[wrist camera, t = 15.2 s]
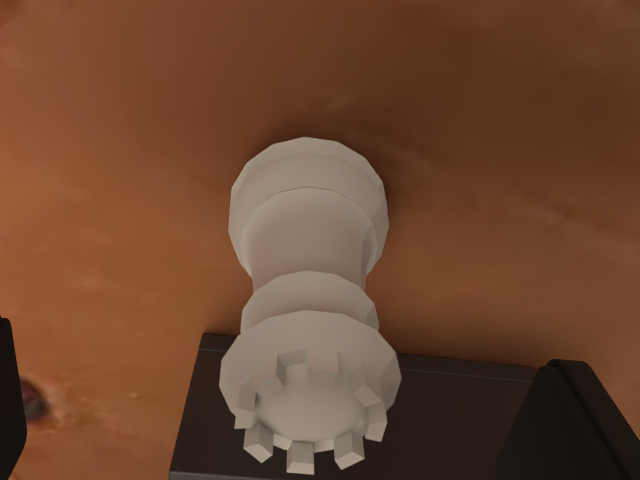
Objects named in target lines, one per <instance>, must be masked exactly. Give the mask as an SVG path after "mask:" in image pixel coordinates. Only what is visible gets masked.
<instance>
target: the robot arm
mask: <svg viewBox="0 0 640 480" xmlns="http://www.w3.org/2000/svg"><path fill="white" fill-rule="evenodd" d="M26 437H27V426H26V419H25V413H24V406H23V400H22V393H21V387H20V380H19V374H18V367H17V361H16V354H15V348H14V341H13V335H12V328H11V324H10V321H9V319H7V318H1V316H0V480H8V479H9V477H10V475H11V473H12V471H13V469H14V467H15V465H16V463H17V461H18V459H19V457H20V455H21V453H22V451H23V448H24V445H25V442H26ZM495 478H496V480H640V441H639V439H638V438H637V436H636V435H635V433H634V432H633V430H632V429H631V427H630V426H629V424H628V423H627V421H626V420H625V418H624V417H623V415H622V414H621V412H620V411H619V409H618V408H617V406H616V405H615V403H614V402H613V400H612V399H611V397H610V396H609V394H608V393H607V391H606V390H605V388H604V387H603V385H602V384H601V382H600V381H599V379H598V378H597V376H596V375H595V373H594V372H593V370H592V369H591V367H590V366H589V365H588V364H587V363H585V362H583V361H573V360H562V359H552V360H550V361H549V362H548V363H547V365H546V366H542V367H540V368H539V370H538V371H537V373H536V375H535V377H534V380H533V382H532V384H531V386H530V388H529V390H528V392H527V395H526V397H525V399H524V401H523V403H522V405H521V407H520V410H519V412H518V414H517V416H516V418H515V420H514V423H513V425H512V427H511V429H510V431H509V433H508V435H507V438H506V440H505V442H504V444H503V446H502V448H501V450H500V453H499V455H498V457H497V459H496V462H495Z"/></svg>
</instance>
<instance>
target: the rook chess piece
mask: <svg viewBox="0 0 640 480" xmlns="http://www.w3.org/2000/svg"><path fill="white" fill-rule="evenodd" d="M387 211H388V207H387V202H386V197H385V192H384V187H383V182H382V180H381V179H380V178H379V176H378V175H377V173H376V172H375V171H374V169H373V168H372V167H371V165H370V164H369V163H368V161H367V160H366V158H365V157H363V156H361V155H360V154H358V153H356V152H354V151H353V150H351V149H349V148H348V147H346V146H344V145H342V144H341V143H339V142H337V141H330V140H323V139H316V138H309V137H301V138H297V139H293V140H289V141H285V142H280V143H276V144H272V145H271V146H269V147H268V148H267V149H265V150H264V151H262V152H261V153H260V154H258V155H257V156H255V157H254V158H253V159H251V160H250V161H248V162H247V163H246V165H245V166H244V168H243V170H242V171H241V173H240V175H239V177H238V178H237V180H236V182H235V183H234V185H233V187H232V190H231V202H230V214H229V226H228V233H229V236H230V239H231V242H232V244H233V247H234V250H235V252H236V255H237V258H238V260H239V263H240V264H241V265H242V266H243V267H244V269H245V270H246V271H247V273H248V275H249V276H250V277H251V278H252V281H253V292H254V294H253V295H252V297H251V298H250V300H249V301H248V303H247V304H246V306H245V307H244V309H243V310H242V319H241V328H240V332H241V334H240V335H238V337H237V338H236V340H235V341H234V343H233V344H232V346H231V347H230V349H229V350H228V351H227V353H226V354H225V356H224V357H223V359H222V360H221V371H220V382H219V387H220V390H221V392H222V394H223V396H224V398H225V400H226V403H227V405H228V407H229V409H230V411H231V412H232V413H233V414H234V415H235V416H236V418H235V427H234V429H242V428H246V429H245V438H244V446H243V448H244V449H245V450H246V451H247V452H249V453H250V454H251V455H252V456H253V457H255V458H256V459H257V460H258V461H260V462H261V463H263V462H264V461H265V460H267V459H268V458H269V457H270V456H272V455H273V445H274V446H277V447H279V448H282V449H284V450H287V470H286V472H288V473H300V474H312V475H314V453H316V452H322V451H327V450H333V449H334V456H335V461H336V463H337V464H338V466H339V467H340V469H341V470H342V469H344V468H346V467H349V466H351V465H353V464H355V463H357V462H359V461H361V460H363V459H365V456H364V447H363V438H362V437H363V436H364V435H365V438H366V439H370V440H374V441H379V442H381V440H382V437H383V434H384V431H385V428H386V425H387V417H386V411H387V410H388V409H389V408H390V407H391V406H392V405H393V404H394V401H395V398H396V394H397V391H398V388H399V385H400V382H401V379H402V378H401V373H400V369H399V365H398V360H397V356H396V352H395V351H394V350H393V349H392V347H391V346H390V345H389V344H388V343H387V342H386V341H385V339H384V338H383V337H382V336H381V335H380V334H379V333H378V329H379V321H378V317H377V313H376V309H375V304H374V303H373V302H372V301H371V300H370V298H369V297H368V296H367V295H366V294H365V284H366V276H367V275H368V274H369V272H370V271H371V270H372V268H373V267H374V265H375V264H376V263H377V261H378V260H379V259H380V258H381V255H382V252H383V248H384V244H385V240H386V236H387V232H388V228H389V219H388V214H387Z"/></svg>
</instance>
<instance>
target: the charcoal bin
mask: <svg viewBox="0 0 640 480" xmlns="http://www.w3.org/2000/svg"><path fill="white" fill-rule="evenodd" d="M236 338H237V337H232V336H222V335H213V334H203V335H202V337H201V341H200V346H199V351H198V354H197V358H196V362H195V366H194V370H193V374H192V378H191V383H190V387H189V391H188V395H187V399H186V403H185V407H184V411H183V416H182V420H181V424H180V428H179V432H178V436H177V440H176V444H175V449H174V453H173V457H172V461H171V465H170V469H169V480H496V478H495V462H496V459H497V457H498V455H499V453H500V450H501V448H502V446H503V444H504V442H505V440H506V438H507V435H508V433H509V431H510V429H511V427H512V425H513V423H514V420H515V418H516V416H517V414H518V412H519V410H520V407H521V405H522V403H523V401H524V399H525V397H526V395H527V392H528V390H529V388H530V386H531V384H532V382H533V380H534V377H535V375H536V373H537V372H536V370H535V368H533V367H524V366H515V365H505V364H495V363H486V362H476V361H466V360H456V359H447V358H437V357H427V356H417V355H408V354H398V353H396V356H397V360H398V365H399V369H400V373H401V378H402V379H401V382H400V385H399V388H398V391H397V394H396V398H395V401H394V404H393V405H392V406H391V407H390V408H389V409H388V410H387V411H386V417H387V425H386V428H385V431H384V434H383V437H382V440H381V442H379V441H374V440H370V439H366V438H365V435H364V436H363V437H362V438H363V447H364V456H365V459H363V460H361V461H359V462H357V463H355V464H353V465H351V466H349V467H346V468H344V469H342V470H341V469H340V467H339V466H338V464H337V463H336V461H335V456H334V449H333V450H327V451H322V452H316V453H314V475H312V474H300V473H288V472H286V470H287V450H284V449H282V448H279V447H277V446H274V445H273V455H272V456H270V457H269V458H268V459H267V460H265V461H264V462H263V463H261V462H260V461H258V460H257V459H256V458H255V457H253V456H252V455H251V454H250V453H249V452H247V451H246V450H245V449H244V448H243V446H244V438H245V429H246V428H242V429H234V427H235V418H236V416H235V415H234V414H233V413H232V412H231V411H230V409H229V407H228V405H227V403H226V400H225V398H224V396H223V394H222V392H221V390H220V387H219V382H220V371H221V360H222V359H223V357H224V356H225V354H226V353H227V351H228V350H229V349H230V347H231V346H232V344H233V343H234V341H235V340H236Z"/></svg>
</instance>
